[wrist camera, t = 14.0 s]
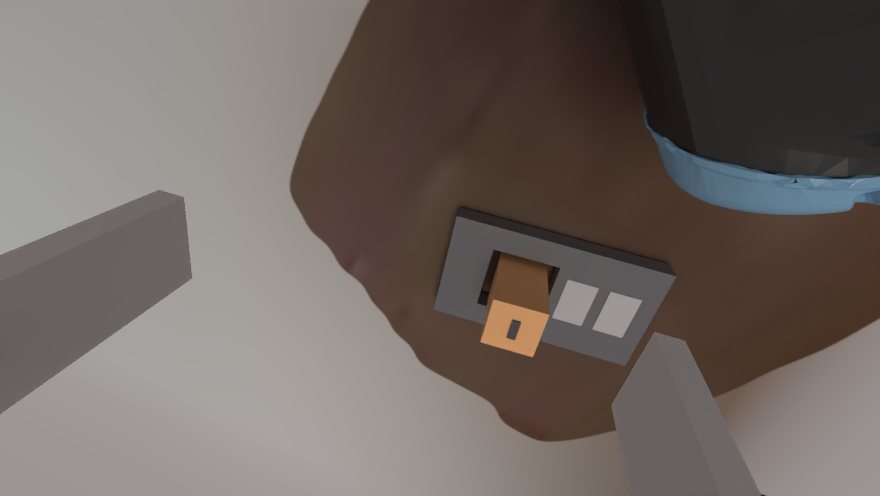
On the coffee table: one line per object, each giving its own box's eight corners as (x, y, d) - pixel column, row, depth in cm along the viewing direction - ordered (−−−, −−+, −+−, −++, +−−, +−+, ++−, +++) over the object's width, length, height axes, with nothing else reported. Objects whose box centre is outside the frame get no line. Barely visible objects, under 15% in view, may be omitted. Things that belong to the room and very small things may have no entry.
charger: (501, 248, 45) (493, 301, 36) (546, 260, 45) (549, 316, 36) (490, 286, 48) (480, 343, 39) (533, 297, 47) (532, 358, 38)
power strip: (460, 207, 44) (456, 216, 42) (669, 264, 42) (676, 277, 40) (437, 297, 50) (433, 310, 48) (620, 350, 48) (625, 366, 46)
